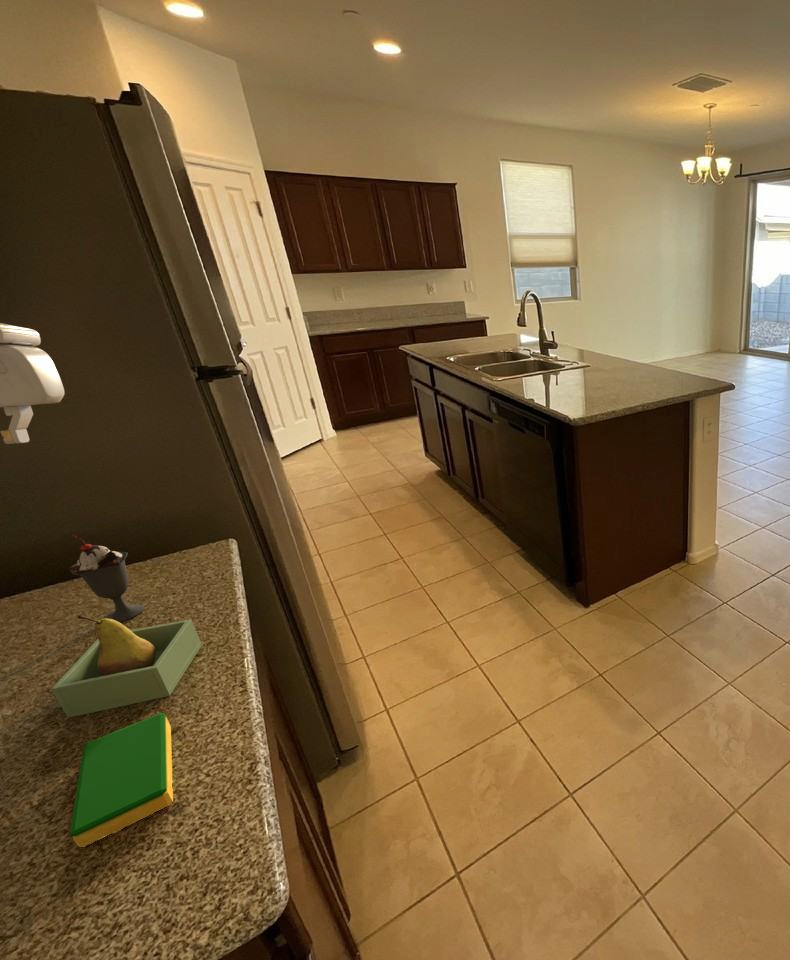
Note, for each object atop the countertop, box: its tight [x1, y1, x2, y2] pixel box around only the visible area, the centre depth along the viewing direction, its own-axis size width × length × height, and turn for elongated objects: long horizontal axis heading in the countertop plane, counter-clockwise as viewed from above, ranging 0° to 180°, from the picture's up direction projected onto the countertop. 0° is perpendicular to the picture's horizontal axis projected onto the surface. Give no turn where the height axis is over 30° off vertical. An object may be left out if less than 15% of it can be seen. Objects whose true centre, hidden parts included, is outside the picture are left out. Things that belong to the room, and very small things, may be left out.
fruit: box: [77, 614, 156, 676], centre depth 69 cm, size 6×6×12 cm
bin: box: [51, 618, 203, 719], centre depth 71 cm, size 11×11×5 cm
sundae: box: [68, 534, 145, 623], centre depth 83 cm, size 7×7×15 cm
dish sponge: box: [69, 712, 174, 848], centre depth 57 cm, size 7×14×2 cm, turn 41°
